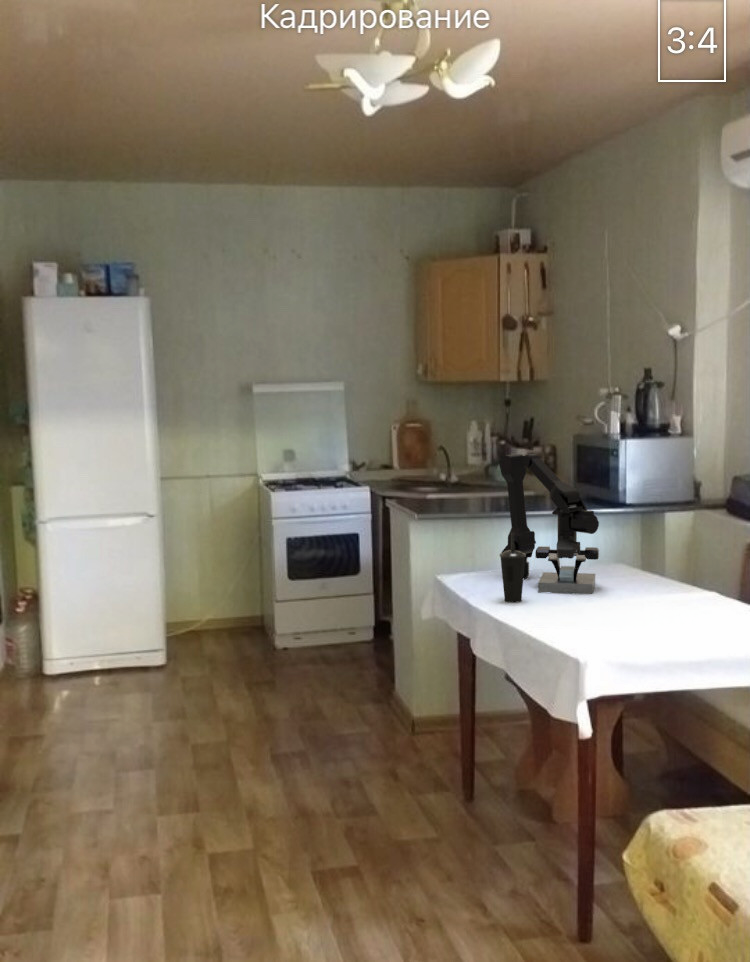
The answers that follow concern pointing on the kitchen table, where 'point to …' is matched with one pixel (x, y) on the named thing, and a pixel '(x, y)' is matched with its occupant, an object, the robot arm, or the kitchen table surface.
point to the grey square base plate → (567, 584)
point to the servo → (567, 573)
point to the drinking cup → (512, 573)
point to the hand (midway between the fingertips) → (567, 580)
